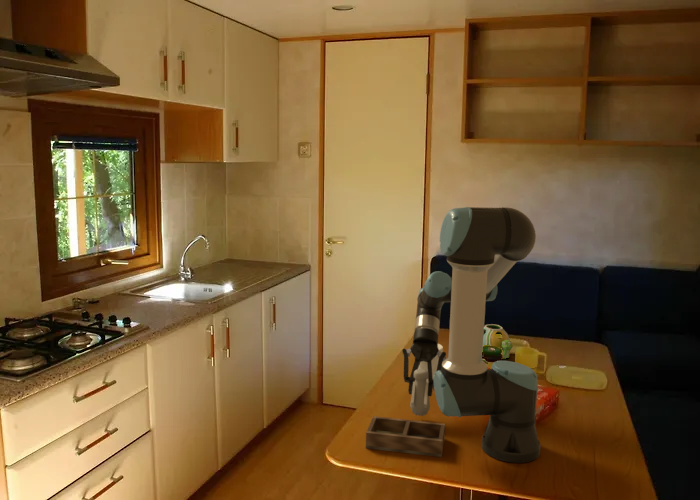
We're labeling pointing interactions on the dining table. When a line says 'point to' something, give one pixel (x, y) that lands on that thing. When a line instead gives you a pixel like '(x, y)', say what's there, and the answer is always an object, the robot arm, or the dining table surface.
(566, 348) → the dining table surface
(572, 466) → the dining table surface
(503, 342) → the turtle holder
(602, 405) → the dining table surface
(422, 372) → the salt shaker
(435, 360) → the foam cup
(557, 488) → the dining table surface
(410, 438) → the wooden compartment tray
